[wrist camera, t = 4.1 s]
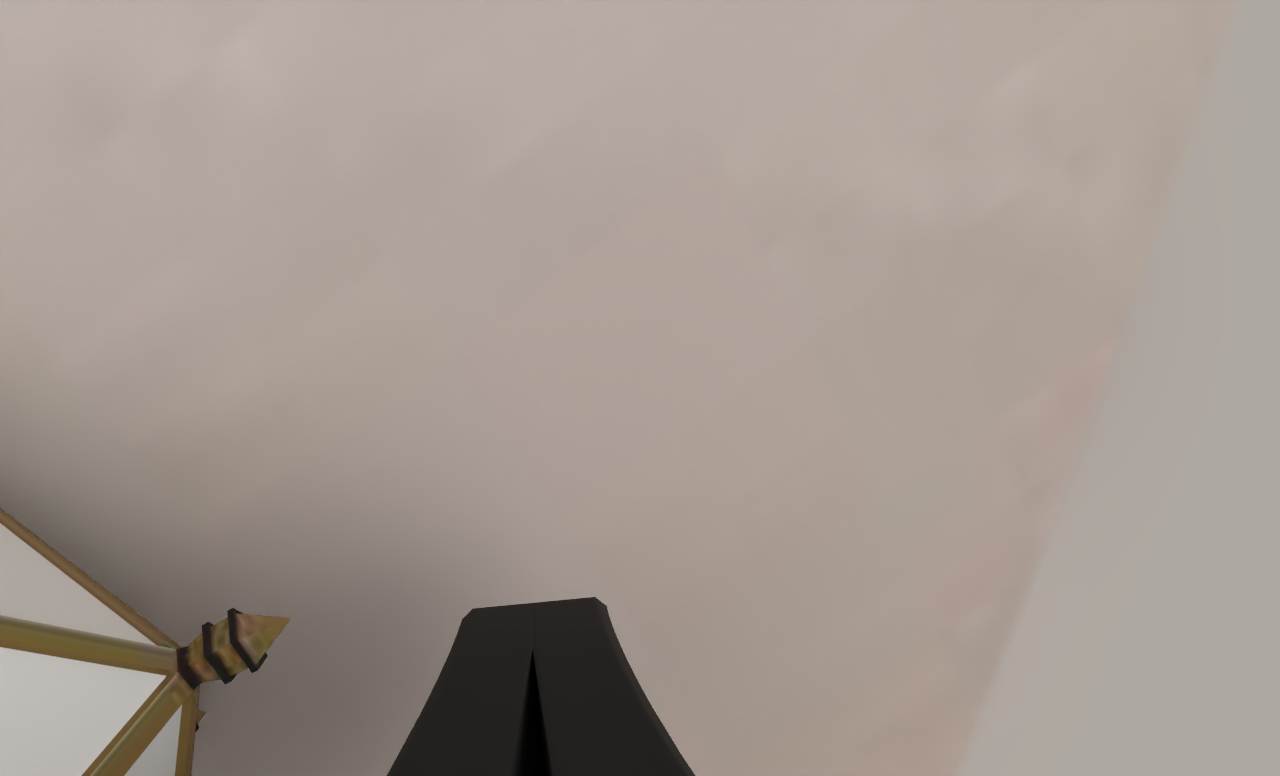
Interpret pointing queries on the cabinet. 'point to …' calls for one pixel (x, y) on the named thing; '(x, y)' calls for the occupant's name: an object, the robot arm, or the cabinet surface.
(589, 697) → the robot arm
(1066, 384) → the cabinet surface
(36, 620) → the game die
